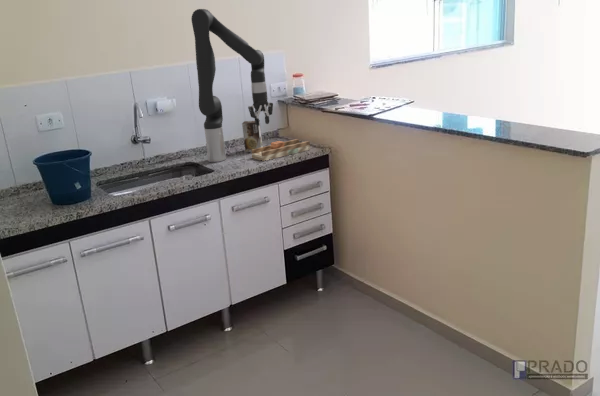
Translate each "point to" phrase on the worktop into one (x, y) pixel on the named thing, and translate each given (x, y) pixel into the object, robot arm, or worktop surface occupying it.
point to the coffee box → (252, 135)
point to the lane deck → (280, 150)
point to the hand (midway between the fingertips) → (262, 124)
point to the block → (277, 144)
